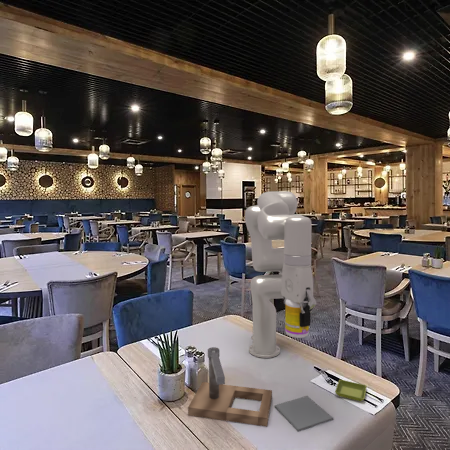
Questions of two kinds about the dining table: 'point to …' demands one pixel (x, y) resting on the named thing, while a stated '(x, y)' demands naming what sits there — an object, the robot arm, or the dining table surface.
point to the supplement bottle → (294, 320)
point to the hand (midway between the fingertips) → (297, 321)
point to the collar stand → (229, 402)
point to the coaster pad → (303, 413)
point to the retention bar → (216, 365)
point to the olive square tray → (351, 390)
